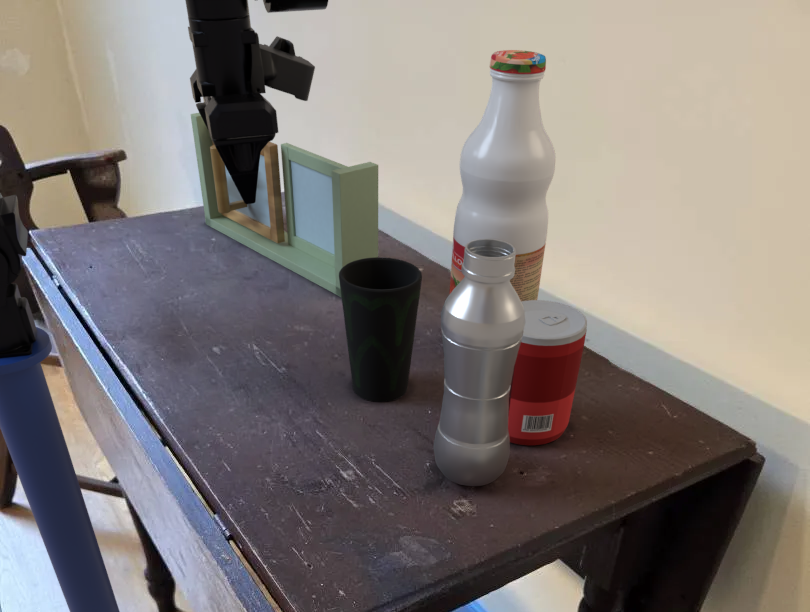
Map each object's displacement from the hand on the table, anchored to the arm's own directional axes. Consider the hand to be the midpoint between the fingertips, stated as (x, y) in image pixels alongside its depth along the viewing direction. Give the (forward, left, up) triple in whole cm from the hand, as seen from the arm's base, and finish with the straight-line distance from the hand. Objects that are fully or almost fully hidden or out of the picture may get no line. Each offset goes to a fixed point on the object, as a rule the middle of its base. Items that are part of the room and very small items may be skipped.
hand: (243, 190), depth 83 cm
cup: (+10, -21, -14) cm, 27 cm away
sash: (+1, +21, -12) cm, 24 cm away
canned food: (+22, -31, -14) cm, 40 cm away
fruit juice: (+24, -15, -14) cm, 31 cm away
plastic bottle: (+14, -37, -14) cm, 42 cm away
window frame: (+6, +16, -14) cm, 22 cm away
